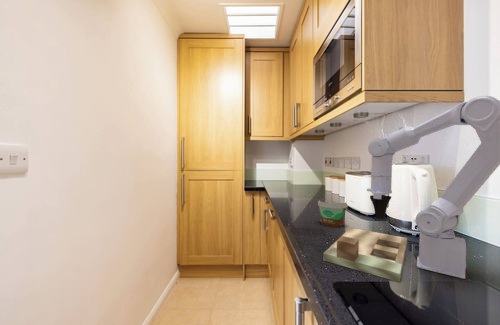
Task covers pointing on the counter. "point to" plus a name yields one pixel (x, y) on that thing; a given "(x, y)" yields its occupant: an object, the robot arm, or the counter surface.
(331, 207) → the food container
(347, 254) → the block
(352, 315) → the counter surface
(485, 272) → the counter surface
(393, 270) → the board
